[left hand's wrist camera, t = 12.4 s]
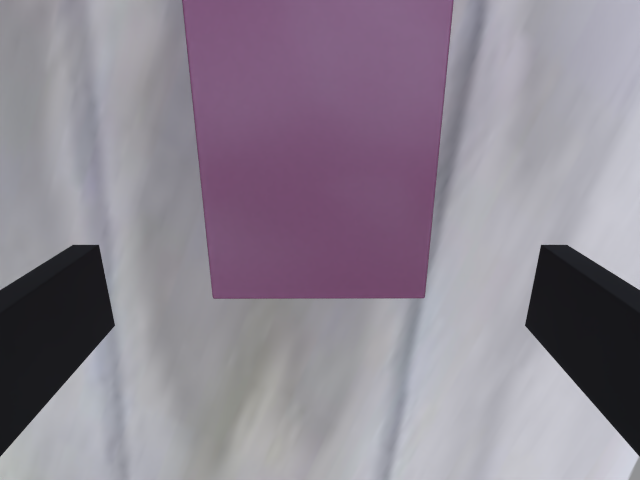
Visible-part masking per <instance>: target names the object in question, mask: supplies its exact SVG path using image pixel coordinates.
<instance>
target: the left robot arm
mask: <svg viewBox="0 0 640 480" xmlns="http://www.w3.org/2000/svg"><path fill="white" fill-rule="evenodd" d="M114 326H115V324H114V319H113V314H112V309H111V304H110V299H109V294H108V289H107V284H106V279H105V274H104V269H103V264H102V259H101V254H100V249H99V245H72V246H71V247H69V248H67V249H66V250H64V251H63V252H61V253H59V254H58V255H56V256H54V257H53V258H51V259H50V260H48V261H46V262H45V263H43V264H42V265H40V266H38V267H37V268H35V269H34V270H32V271H30V272H29V273H27V274H26V275H24V276H22V277H21V278H19V279H18V280H16V281H14V282H13V283H11V284H10V285H8V286H6V287H5V288H3V289H2V290H0V456H1V455H2V454H3V453H4V452H5V451H6V449H7V448H8V447H9V446H10V445H11V444H12V443H13V441H14V440H15V439H16V438H17V437H18V436H19V435H20V433H21V432H22V431H23V430H24V429H25V428H26V427H27V425H28V424H29V423H30V422H31V421H32V420H33V419H34V417H35V416H36V415H37V414H38V413H39V412H40V411H41V409H42V408H43V407H44V406H45V405H46V404H47V403H48V401H49V400H50V399H51V398H52V397H53V396H54V395H55V393H56V392H57V391H58V390H59V389H60V388H61V387H62V385H63V384H64V383H65V382H66V381H67V380H68V379H69V377H70V376H71V375H72V374H73V373H74V372H75V371H76V369H77V368H78V367H79V366H80V365H81V364H82V363H83V361H84V360H85V359H86V358H87V357H88V356H89V355H90V353H91V352H92V351H93V350H94V349H95V348H96V347H97V345H98V344H99V343H100V342H101V341H102V340H103V339H104V337H105V336H106V335H107V334H108V333H109V332H110V331H111V329H112V328H113V327H114ZM525 326H526V327H527V328H528V329H529V331H530V332H531V333H532V334H533V335H534V336H535V337H536V339H537V340H538V341H539V342H540V343H541V344H542V345H543V347H544V348H545V349H546V350H547V351H548V352H549V353H550V355H551V356H552V357H553V358H554V359H555V360H556V361H557V363H558V364H559V365H560V366H561V367H562V368H563V369H564V371H565V372H566V373H567V374H568V375H569V376H570V377H571V379H572V380H573V381H574V382H575V383H576V384H577V385H578V387H579V388H580V389H581V390H582V391H583V392H584V393H585V395H586V396H587V397H588V398H589V399H590V400H591V401H592V403H593V404H594V405H595V406H596V407H597V408H598V409H599V411H600V412H601V413H602V414H603V415H604V416H605V417H606V419H607V420H608V421H609V422H610V423H611V424H612V425H613V427H614V428H615V429H616V430H617V431H618V432H619V433H620V435H621V436H622V437H623V438H624V439H625V440H626V441H627V443H628V444H629V445H630V446H631V447H632V448H633V449H634V451H635V452H636V453H637V454H638V455H639V456H640V290H638V289H637V288H635V287H634V286H632V285H630V284H629V283H627V282H626V281H624V280H622V279H621V278H619V277H618V276H616V275H614V274H613V273H611V272H610V271H608V270H606V269H605V268H603V267H602V266H600V265H598V264H597V263H595V262H594V261H592V260H590V259H589V258H587V257H586V256H584V255H582V254H581V253H579V252H577V251H576V250H574V249H573V248H571V247H569V246H568V245H541V249H540V254H539V259H538V264H537V269H536V274H535V279H534V284H533V289H532V294H531V299H530V304H529V309H528V314H527V319H526V324H525Z"/></svg>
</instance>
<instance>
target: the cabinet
mask: <svg viewBox="0 0 640 480" xmlns="http://www.w3.org/2000/svg"><path fill="white" fill-rule="evenodd" d="M453 1H454V0H182V3H183V13H184V23H185V33H186V42H187V52H188V62H189V72H190V81H191V91H192V101H193V110H194V120H195V130H196V140H197V149H198V159H199V169H200V178H201V188H202V198H203V208H204V217H205V227H206V237H207V246H208V256H209V266H210V276H211V285H212V295H213V298H214V299H246V298H424V297H425V290H426V280H427V269H428V259H429V249H430V238H431V228H432V218H433V207H434V197H435V187H436V176H437V166H438V156H439V145H440V135H441V125H442V114H443V104H444V94H445V83H446V73H447V63H448V52H449V42H450V32H451V21H452V11H453Z"/></svg>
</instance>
